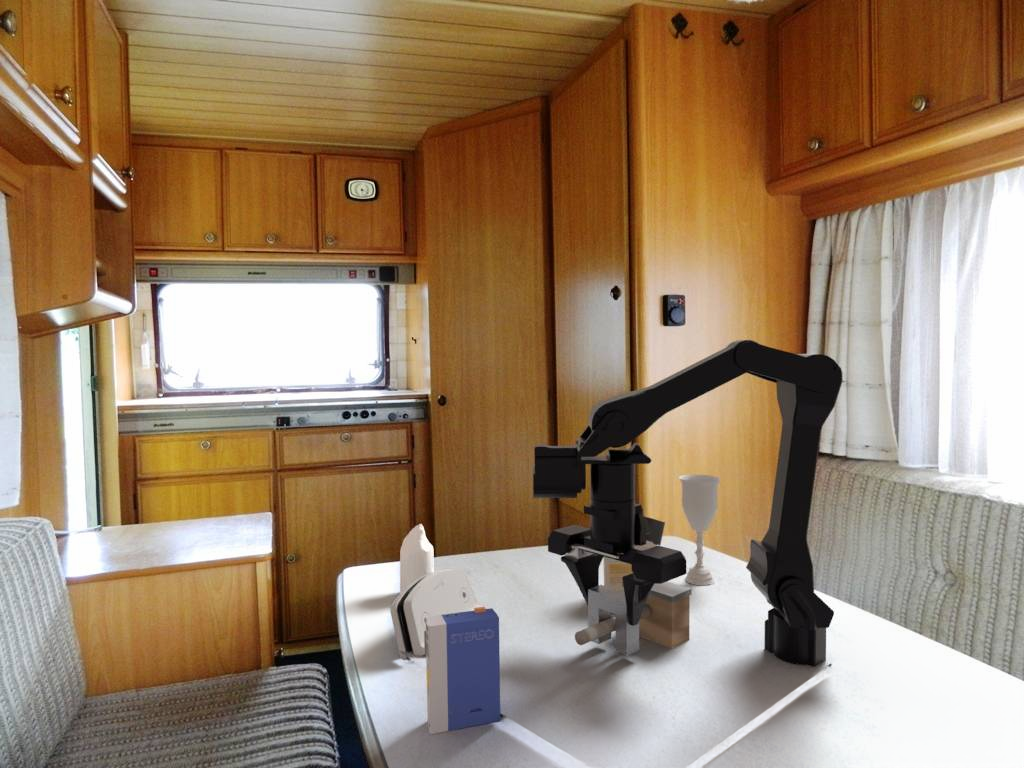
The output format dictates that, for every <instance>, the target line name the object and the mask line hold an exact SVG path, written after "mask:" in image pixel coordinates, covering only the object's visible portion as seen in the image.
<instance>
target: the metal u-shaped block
mask: <svg viewBox="0 0 1024 768" xmlns="http://www.w3.org/2000/svg"><path fill="white" fill-rule="evenodd" d="M587 612H588V613H587V614H588V615H587V628H588V627H591V626H593V625H596V624H598V623H600V622H603V621H605V620H608V619H610V618H612V614H614V615H615V616H614V617H615V631H614V633H615V638H614V639H615V643H614V644H615V646H614V647H615V652H617V653H619V654H621V655H624V656H626V657H627V656H629V655H632V654H633V653H636V652H638V651H640V636H639V622H638V624H637V625H635V626H632V625H630V621H629V618H628V613H627V606H626V599H625V593H624V592H622V591H618V590H615V589H612V588H609V587H606V586H604V584H599V585H598V586H596V587H593V588H590V589H588V605H587ZM611 639H612V632H611V633H609V634H607V635H604V636H602V637H600V638H597V639H595V640H593V641H591V642H593V643H595V644H597V645H600V644H602V643H605V642H607V641H609V640H611Z"/></svg>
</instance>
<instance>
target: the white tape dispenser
mask: <svg viewBox="0 0 1024 768" xmlns="http://www.w3.org/2000/svg"><path fill="white" fill-rule="evenodd" d="M478 607H483V606H482V605H480V604H479V602H478V601H477V597H476V595H475V593H474V590H473V588H472V586H471V583H470V581H469V579H468V575H467V574H466V572H465V570H463V569H458V568H457V569H456V568H455V569H454V568H453V569H442V570H437V571H434V572H433V573H430V574H427V575H424V576H422V577H421V578H419V579H417V580H415V581H414V582H412V583H411V584H410V585H408V586H407V587H406V588H405V589H404V590H403V591H402V592H401V593H400V592H399V594H398V595H397V597H396V598H395V599H394V601H393V602H392V604H391V606H390V617H391V621H392V626H393V631H394V634H395V639H396V644H397V648H398V654H399V657H400V659H401V658H402V660H407V659H409V657H408V656H406V655H405V654H406V653H412V654H413V655H414V656H422V657H423V656H425V649H424V631H426V617H429V616H437V615H444V614H451V613H459V612H467V611H474V608H478ZM401 652H402V653H401ZM403 653H405V654H403Z"/></svg>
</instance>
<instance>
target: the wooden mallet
mask: <svg viewBox="0 0 1024 768" xmlns="http://www.w3.org/2000/svg"><path fill="white" fill-rule="evenodd" d="M622 587H624V586H623V581H622ZM692 594H693V593H692V588H691V587H687V586H685V585H684V586H683V585H681V584H677V583H674V582H671V581H667V582H664V583H662V584H654V585H653V587H652V589H651V591H650V593H649V595H648V598H647V601H646V603H645V606H644V609H643V611H642V614H641V617H640V620H639V638H640V637H641V638H643V639H646V640H649V641H651V642H654V643H657V644H659V645H662V646H664V647H667V648H669V649H674V648H677V647H678V646H680V645H682V644H684V643H686V642H687V641H690V596H691V595H692ZM613 632H615V616H613V617H611V618H610V619H608V620H605V621H603V622H600V623H598V624H596V625H593V626H591V627H588V626H587V627H586V628H583V629H581V630H578V631H577V632H575V634H574V640H575V642H576V643H577V644H578V645H579V646H583V645H585V644H589V643H590V642H592V641H593V640H595V639H597V638H600V637H602V636H604V635H607V634H609V633H611V634H612V633H613Z"/></svg>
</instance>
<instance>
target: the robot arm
mask: <svg viewBox="0 0 1024 768" xmlns="http://www.w3.org/2000/svg"><path fill="white" fill-rule="evenodd" d="M745 374H749V375H751V376H754V377H756V378H758V379H759V378H760V379H762V380H765V381H769V382H772V383H775V384H776V400H777V403H778V407H779V411H780V412H779V413H780V417H781V421H782V422H781V423H782V426H781V434H780V441H779V448H778V457H777V465H776V473H775V479H774V487H773V493H772V494H773V495H772V502H771V509H770V510H771V511H770V516H769V517H770V519H769V525H768V529H767V532H766V533H765V534H764V536H763V538H762V539H761V541H760V540H756V539H751V540H750V543H749V544H750V545H749V548H750V550H749V551H750V554H749V555H750V556H749V560H748V563H747V565H746V566H745V568H746V569H747V571H749V573H750V579H751V582H752V583H753V585H754V586H755V588H756V589H757V590H758V591H759V592H760V593H761V594H762V596H764V597H765V599H766V601H767V604H769V605H770V606H772V608H771V609H769V610H767V619H765V620H764V645H763V647H764V650H765V651H767V652H768V653H771V654H773V656H774V657H776V659H778V660H780V661H782V662H785V663H788V664H792V665H796V666H797V665H798V666H808V667H811V668H816V667H818V666H819V665H821V664H822V663H823V662H824V661H826V660H827V629H828V628H830V625H831V623H832V621H833V617H834V614H835V611H834V610H833V609H832V608H831V607H830V606H829V605H827V603H826V602H824V601H823V600H822V599H821V597H819V596H818V595H817V593H815V577H814V565H813V561H812V556H811V553H810V548H809V547H810V546H809V544H808V532H809V526H810V525H809V524H810V517H811V509H812V501H813V496H814V495H813V494H814V487H815V478H816V473H817V465H818V457H819V449H820V441H821V433H822V429H823V426H824V425H825V423H826V421H827V419H828V418H829V416H830V414H831V413H832V412H833V410H834V408H835V406H836V403H837V400H838V396H839V394H840V390H841V387H842V383H843V369H842V367H840V365H839V364H838V363H837V361H835V359H833V358H832V357H830V356H828V355H826V354H821V353H794V352H793V353H792V352H790V351H785V350H783V349H777V348H774V347H771V346H767V345H764V344H761V343H758V342H757V341H754V340H753V339H752V340H750V339H741V340H740V339H739V340H734V341H732V342H730V343H729V344H728V345H727V346H726V347H724V348H722V349H720V350H719V351H716V352H714V353H713V354H710V355H708V356H707V357H704V358H702V359H701V360H699V361H697V362H695V363H693V364H691V365H688V366H687V367H685V368H683V369H681V370H679V371H677V372H675V373H673V374H671V375H669V376H668V377H664V378H663V379H661V380H659V381H657V382H655V383H653V384H651V385H650V386H649V385H648V386H647V387H646V386H645V387H643V388H640V389H635V390H632V391H627V392H625V393H620V394H617V395H614V396H611V397H607V398H604V399H601V400H599V401H598V402H596V403H595V404H594V405H593V406H592V407H591V409H590V411H589V414H588V420H587V421H588V424H587V426H586V427H585V429H584V430H583V432H582V433H581V434H580V435H579V436H577V440H576V441H575V442H574V444H573V445H548V444H534V447H533V448H534V449H533V450H534V451H533V452H534V466H533V467H532V481H533V482H532V487H533V488H532V489H533V490H532V491H533V493H532V494H533V495H532V496H533V498H532V499H556V498H557V499H577V498H578V494H582V491H586V489H587V488H586V487H587V485H586V483H587V474H586V473H587V470H586V468H587V467H586V465H589V475H590V476H589V478H590V479H589V480H590V481H589V484H590V485H589V486H590V488H589V490H590V491H589V493H590V494H589V497H590V498H589V500H590V502H589V503H590V504H586V505H583V514H584V515H589V516H590V528H589V527H585V526H581V525H578V524H571V525H567V526H564V527H560V528H557V529H553V530H552V531H551V533H550V534H549V535H548V537H547V551H548V552H549V553H552V554H554V555H555V554H556V555H558V556H561V557H560V561H561V562H563V563H564V564H565V565H566V567H567V569H568V571H569V572H570V573H571V576H572V577H573V579H574V581H575V583H576V585H577V587H578V589H579V591H580V593H581V595H582V597H583V599H584V601H585V603H586V605H587V606H588V589H590V588H593V587H596V586H598V585H600V583H599V580H600V579H599V575H600V571H599V570H600V566H601V563H602V561H603V557H608V558H611V559H615V560H618V561H622V562H625V563H629V564H632V572H633V573H632V574H629V575H626V576H623V577H622V580H623V586H624V593H625V599H626V606H627V613H628V618H629V621H630V625H632V626H635V625H637V624H638V622H639V620H640V617H641V614H642V611H643V609H644V606H645V603H646V601H647V598H648V595H649V593H650V591H651V589H652V587H653V585H654V584H662V583H664V582H670V581H671V580H674V579H676V578H679V577H682V576H684V575H687V559H686V556H685V555H684V553H683V552H682V551H681V550H677V549H674V548H669V547H666V546H661V544H662V541H663V540H662V539H663V533H664V530H665V526H666V522H665V521H662V520H658V519H654V518H652V517H649V516H645V515H644V509H643V507H642V504H640V503H636V465H640V464H641V465H643V464H644V465H646V464H647V465H648V464H651V463H652V459H651V458H650V456H648V455H647V454H646V453H645V452H644V451H643V450H642V447H641V446H640V445H639V444H638V443H637V442H634V443H633V444H632V445H631V446H630V447H629V448H626V449H625V448H623V449H622V448H621V447H625V446H627V445H629V444H630V443H631V442H633V441H634V440H636V438H638V437H639V436H640V435H642V434H644V432H646V431H648V430H649V428H651V427H652V426H653V425H654V424H655V423H656V422H657V421H658V420H659V419H660V418H662V417H664V415H666V414H667V413H669V412H671V411H674V410H675V409H677V408H680V407H681V406H683V405H685V404H687V403H689V402H691V401H693V400H695V399H697V398H699V397H701V396H703V395H705V394H707V393H709V392H712V391H713V390H715V389H717V388H718V387H721V386H723V385H725V384H727V383H728V382H731V381H733V380H735V379H736V378H739V377H741V376H743V375H745ZM616 448H617V449H616ZM619 448H620V449H619ZM605 451H606V453H605V455H600V454H602V453H603V452H605ZM646 541H650V542H653V543H654V544H656V545H657V546H655V547H652V548H649V549H646V550H643V551H641V550H637V549H635V546H637V545H638V546H642V545H646ZM621 553H623V554H621Z"/></svg>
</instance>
